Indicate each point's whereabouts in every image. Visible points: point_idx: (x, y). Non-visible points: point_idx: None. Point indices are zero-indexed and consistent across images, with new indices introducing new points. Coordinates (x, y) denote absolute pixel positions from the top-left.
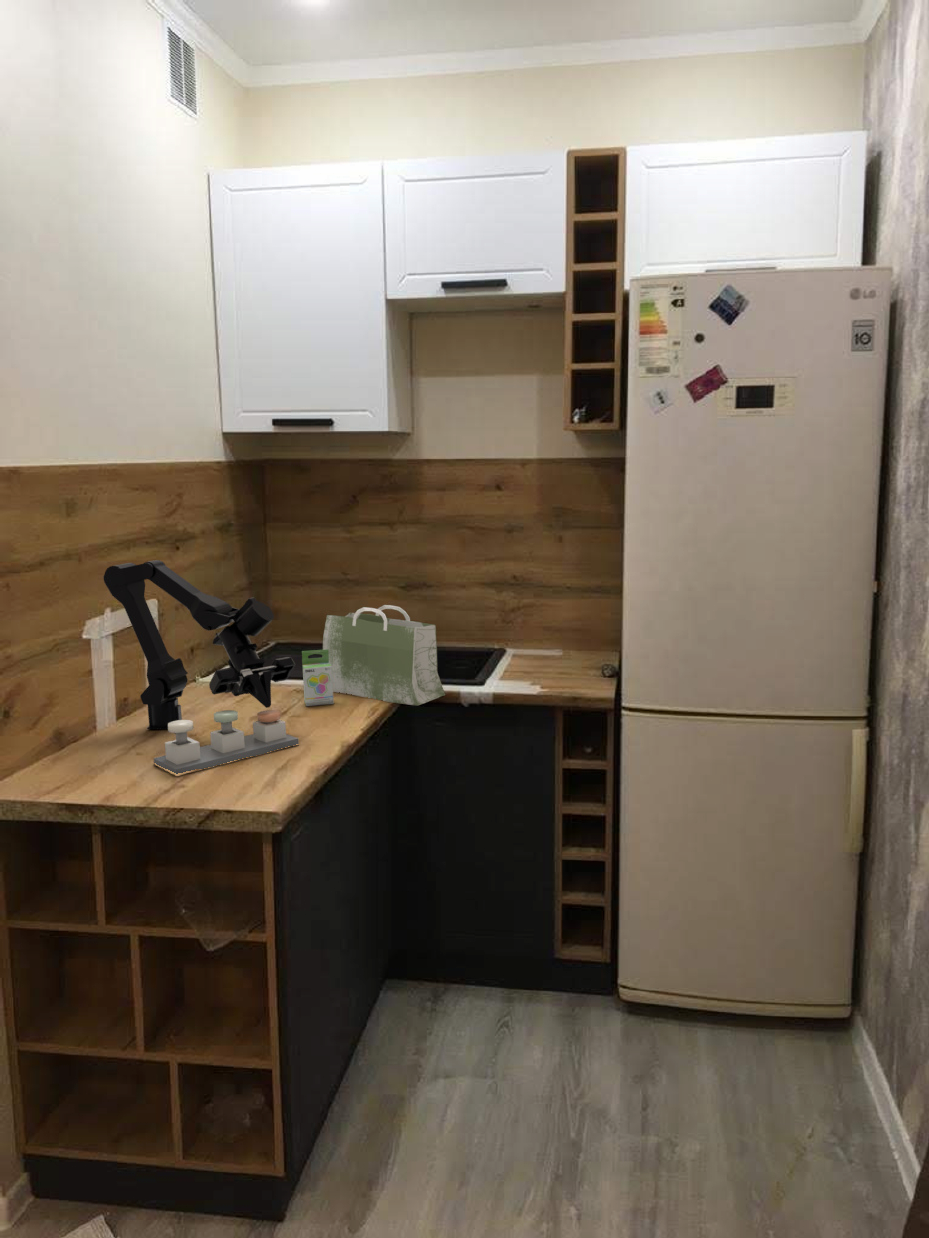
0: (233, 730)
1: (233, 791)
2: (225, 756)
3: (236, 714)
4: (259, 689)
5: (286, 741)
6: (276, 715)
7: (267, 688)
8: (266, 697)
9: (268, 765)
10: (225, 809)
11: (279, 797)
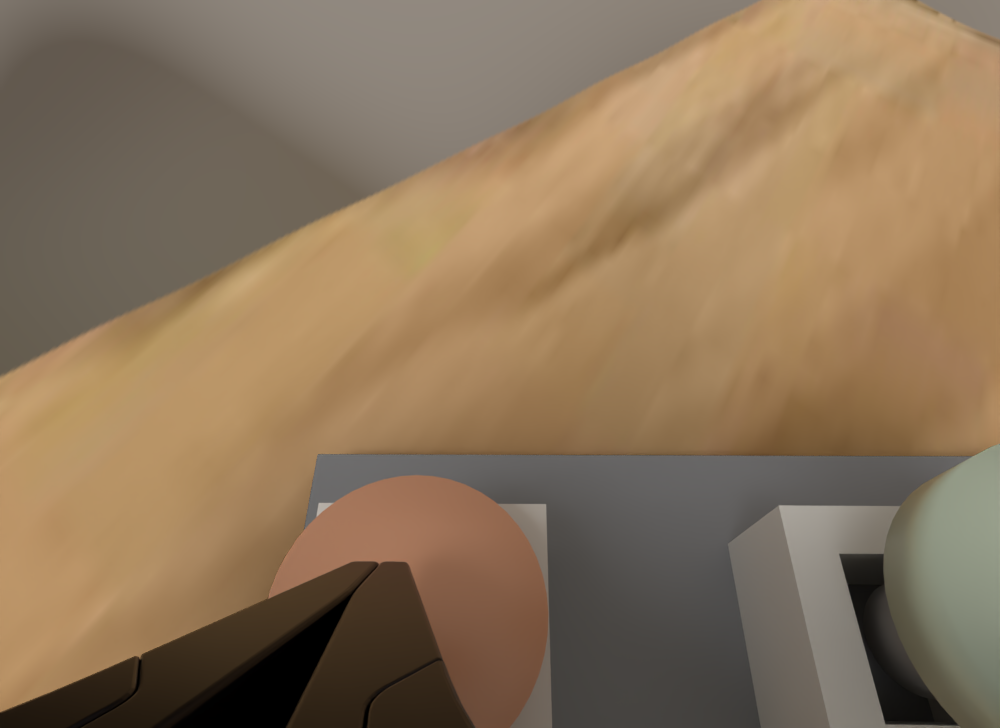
0: (859, 632)
1: (931, 137)
2: (914, 463)
3: (955, 470)
4: (433, 679)
5: (417, 456)
6: (393, 480)
7: (210, 663)
8: (364, 598)
9: (672, 291)
10: (992, 39)
11: (783, 23)
